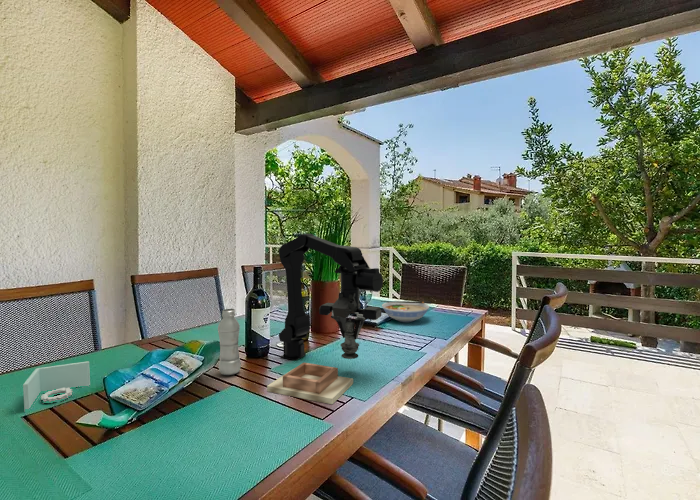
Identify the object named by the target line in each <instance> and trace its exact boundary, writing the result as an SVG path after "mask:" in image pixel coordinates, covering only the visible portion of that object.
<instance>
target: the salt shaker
mask: <svg viewBox="0 0 700 500" xmlns="http://www.w3.org/2000/svg"><path fill="white" fill-rule="evenodd" d="M348 318H349V319H348V320H346V323H345V332H344V333H345V338H344V341H343V342H342V343H340V347H341V351H342V352H343V354H341V358H343V359H346V360H353V359H357V358H359V355H358V353H356V352H358V350H359V347H360V343H359V342H356V340H355V337H354V333H355V322H354V320H352V319H351V317H348Z"/></svg>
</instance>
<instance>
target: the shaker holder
mask: <svg viewBox="0 0 700 500" xmlns="http://www.w3.org/2000/svg"><path fill="white" fill-rule="evenodd" d="M353 384H354V378H350V377H345V376H341V375H340V376H339V369H338V367H335V366H327V365H321V364H315V363H309V362H302V363H301V364H298V365H297V366H296V367H294V368H292V369H290V371H289V370H288V372H285V373H284V374H283V375H282V376H280V377H279V378H277V379H276V380H274V381H272V382H271V383H270V384H268V385H267V386H266V391H267V392H268V393H275V394H279V395H284V396H290V397H295V398H299V399H304V400H309V401H314V402H318V403H324V404H329V405H333V404H334V403H335V402H337V400H338V399H340V397H341V396H343V394H344V393H346V392H347V390H349V388H350V387H351V386H352V385H353Z"/></svg>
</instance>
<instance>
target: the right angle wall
mask: <svg viewBox="0 0 700 500" xmlns="http://www.w3.org/2000/svg"><path fill="white" fill-rule="evenodd" d="M90 372H91V371H90V361H89V360H88V361H82V362H74V363H72V362H71V363H66V364H58V365H53V366H46V367H45V366H43V367H36V368H35V369H34V370H33V371H32V373H31V374H30V375H29V376H28V377H27V379H26V380H25V382H24V383H23V384H22V388H23V391H22V393H23V406H24V411H25V409H29V408H30V407H31V405H32V404H33V402H34V401H35V399H36V398H37V396H38V395H39V393H40V392H41V391H47V390H52V391H48V392H46V393H45V394H41V395H40V396H39V398H40V401H41V400H43V401H44V402H46V401H49V402H51V401H55V400H61V399H65V398H68V396H71V395H72V392H73V393H74V391H73V389H70V388H71V387H78V386H79V387H80V386H88V387H90V386H91V377H90V376H91V373H90ZM89 385H90V386H89ZM54 389H56V390H54ZM57 393H65V394H62V395H57V396H54V397H48V396H49V395H52V394H57ZM72 396H73V395H72ZM68 399H69V398H68Z"/></svg>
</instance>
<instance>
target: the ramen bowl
mask: <svg viewBox="0 0 700 500" xmlns="http://www.w3.org/2000/svg"><path fill="white" fill-rule="evenodd" d="M380 302H381V303H383V304H381V307H382V308H383V310H384V312H385V313H386V315H387V316H388V317H389V318H392V319H393V320H396V321H397V322H399V323H412V322H414V321H418V320H420V319H421V318H423V317H424V316H425V314H427V312H428V311H429V309H430V305H429V304H432V301H429V300H428V301H415V300H414V301H412V300H411V301H409V300H408V301H407V300H398V301H397V300H395V301H393V300H392V301H386V300H385V301H380Z"/></svg>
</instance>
